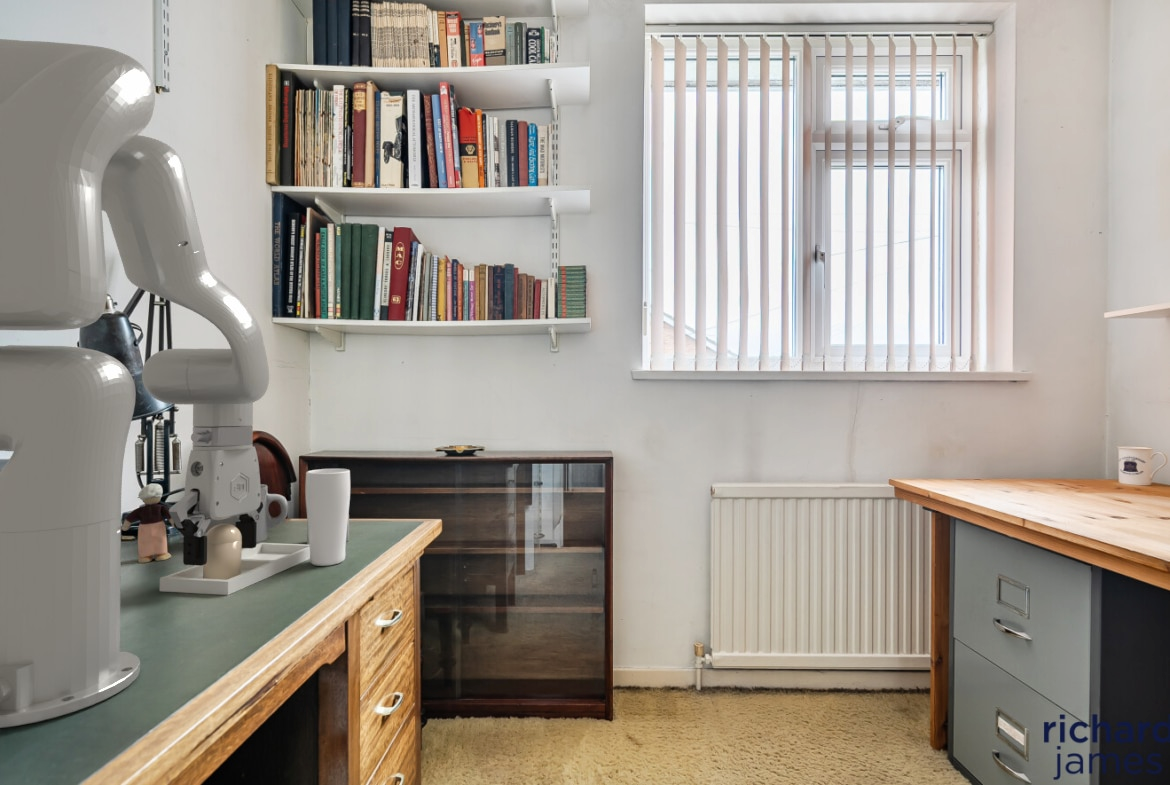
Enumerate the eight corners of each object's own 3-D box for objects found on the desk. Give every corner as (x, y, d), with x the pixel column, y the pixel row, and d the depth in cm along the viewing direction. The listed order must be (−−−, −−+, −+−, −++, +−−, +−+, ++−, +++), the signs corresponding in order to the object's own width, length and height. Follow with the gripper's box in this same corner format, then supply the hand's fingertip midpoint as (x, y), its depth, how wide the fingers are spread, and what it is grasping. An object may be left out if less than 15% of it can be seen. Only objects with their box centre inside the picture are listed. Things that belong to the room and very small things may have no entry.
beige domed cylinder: (224, 584, 83) (225, 528, 84) (194, 582, 84) (195, 526, 84) (248, 574, 88) (249, 521, 88) (220, 572, 89) (220, 519, 89)
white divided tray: (228, 594, 80) (228, 581, 80) (159, 591, 82) (159, 578, 82) (317, 555, 100) (317, 544, 100) (261, 553, 102) (261, 542, 102)
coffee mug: (197, 548, 105) (198, 492, 105) (216, 536, 114) (217, 484, 115) (280, 543, 108) (280, 489, 109) (291, 532, 118) (292, 482, 118)
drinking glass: (339, 568, 93) (339, 473, 93) (296, 568, 93) (297, 473, 93) (356, 556, 99) (357, 468, 100) (317, 556, 100) (317, 468, 100)
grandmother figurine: (177, 553, 101) (177, 480, 102) (179, 558, 99) (180, 482, 99) (120, 561, 96) (121, 484, 97) (121, 566, 94) (122, 487, 94)
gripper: (199, 442, 77) (197, 573, 77) (284, 436, 94) (283, 543, 94) (149, 442, 78) (146, 571, 78) (242, 435, 95) (241, 541, 95)
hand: (221, 555), depth 86 cm, fingers open, 9 cm apart
